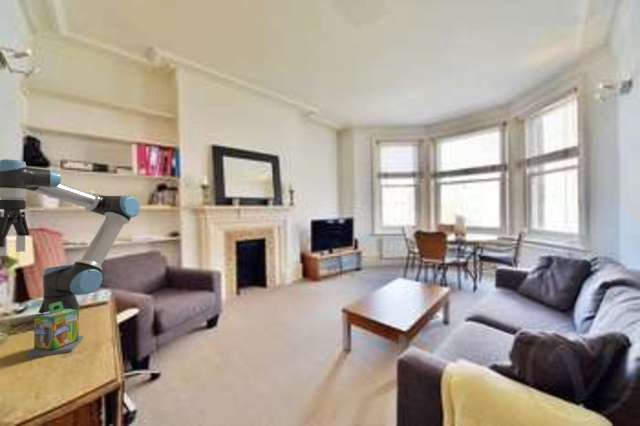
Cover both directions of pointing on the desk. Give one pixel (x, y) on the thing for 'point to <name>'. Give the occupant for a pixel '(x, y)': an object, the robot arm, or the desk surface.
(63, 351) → the charcoal mat
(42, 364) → the desk surface
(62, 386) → the desk surface
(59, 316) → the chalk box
